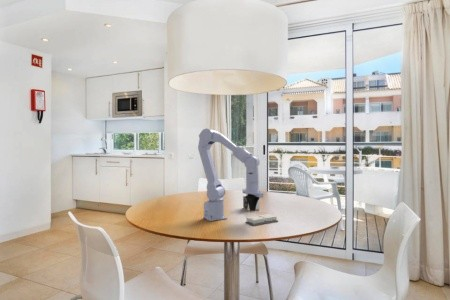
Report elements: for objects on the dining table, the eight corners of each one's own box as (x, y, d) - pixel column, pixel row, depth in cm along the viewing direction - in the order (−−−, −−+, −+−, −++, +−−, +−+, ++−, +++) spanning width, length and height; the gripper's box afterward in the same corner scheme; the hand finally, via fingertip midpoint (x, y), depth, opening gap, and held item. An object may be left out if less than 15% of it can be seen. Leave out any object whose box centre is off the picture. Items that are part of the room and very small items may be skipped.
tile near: (246, 220, 133) (253, 223, 128) (246, 217, 133) (253, 220, 128) (256, 219, 136) (264, 222, 131) (256, 215, 136) (264, 218, 131)
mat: (253, 225, 126) (253, 225, 126) (245, 222, 132) (245, 221, 132) (278, 221, 133) (278, 220, 133) (269, 218, 139) (269, 217, 139)
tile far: (258, 218, 137) (266, 221, 131) (258, 215, 137) (266, 218, 131) (268, 217, 139) (276, 220, 134) (268, 213, 139) (276, 216, 134)
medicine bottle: (243, 208, 162) (242, 187, 162) (254, 207, 164) (254, 186, 164) (247, 210, 155) (247, 188, 155) (259, 209, 158) (259, 188, 157)
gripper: (268, 182, 129) (268, 212, 129) (250, 179, 142) (251, 206, 142) (255, 184, 126) (256, 214, 126) (238, 180, 138) (239, 208, 139)
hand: (252, 210), depth 134 cm, fingers closed
